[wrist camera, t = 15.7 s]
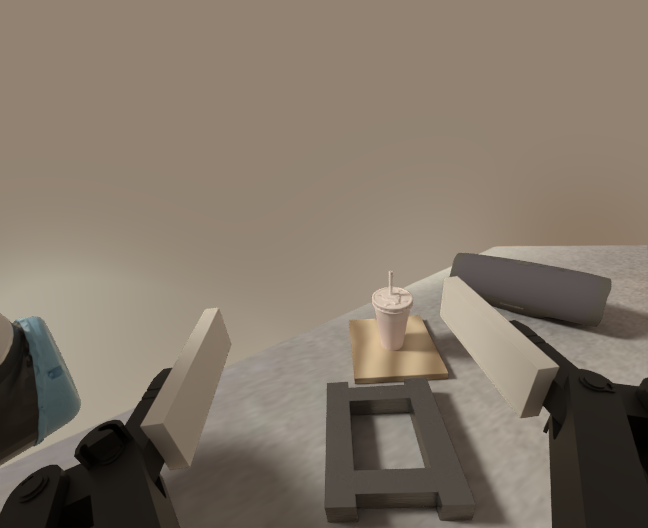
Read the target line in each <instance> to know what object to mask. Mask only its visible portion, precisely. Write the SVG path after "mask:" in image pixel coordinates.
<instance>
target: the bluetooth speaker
mask: <svg viewBox="0 0 648 528" xmlns="http://www.w3.org/2000/svg"><path fill="white" fill-rule="evenodd" d="M455 276H458V277H459V278H460V279H461V280H462V281H463V282H465V283H466V284H467V285H468V286H469V287H470V288H471V289H472V290H474V291H475V292H476V293H477V294H478V295H479V296H480V297H481V298H483V299H484V300H485V301H486V302H487V303H488V304H489V305H492V306H495V307H498V308H501V309H505V310H509V311H512V312H516V313H520V314H523V315H528V316H532V317H537V318H545V317H550V318H556V319H560V320H565V321H569V322H573V323H578V324H584V325H590V326H597V325H598V324H599V322H600V321H601V319H602V316H603V310H604V307H605V304H606V301H607V297H608V295H609V293H610V290H611V279H609V278H605V277H601V276H597V275H593V274H589V273H584V272H579V271H574V270H569V269H564V268H559V267H554V266H548V265H543V264H538V263H532V262H526V261H520V260H514V259H507V258H500V257H493V256H486V255H478V254H469V253H458V254H457V255H456V257H455V259H454V261H453V266H452V269H451V274H450V277H455Z"/></svg>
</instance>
